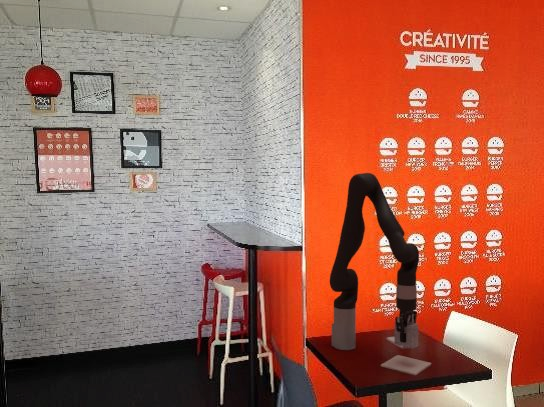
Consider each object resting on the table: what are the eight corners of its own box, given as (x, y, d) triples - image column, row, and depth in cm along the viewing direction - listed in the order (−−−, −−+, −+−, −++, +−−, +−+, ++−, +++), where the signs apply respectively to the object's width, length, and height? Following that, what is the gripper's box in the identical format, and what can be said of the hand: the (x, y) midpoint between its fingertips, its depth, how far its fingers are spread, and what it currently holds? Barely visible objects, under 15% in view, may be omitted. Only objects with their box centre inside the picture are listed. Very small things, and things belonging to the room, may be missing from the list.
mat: (380, 366, 190) (380, 364, 190) (397, 356, 200) (397, 354, 200) (415, 375, 181) (415, 374, 181) (431, 364, 191) (431, 363, 191)
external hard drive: (402, 350, 209) (386, 340, 221) (419, 347, 212) (402, 338, 224) (402, 346, 209) (386, 337, 221) (419, 344, 212) (402, 335, 224)
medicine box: (418, 346, 188) (418, 323, 188) (411, 349, 185) (412, 326, 185) (400, 341, 194) (400, 319, 194) (394, 344, 191) (394, 321, 191)
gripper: (407, 301, 181) (407, 347, 182) (423, 294, 192) (423, 337, 193) (388, 298, 186) (388, 343, 187) (405, 291, 197) (405, 334, 198)
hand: (406, 340), depth 190 cm, fingers closed on medicine box, 4 cm apart
